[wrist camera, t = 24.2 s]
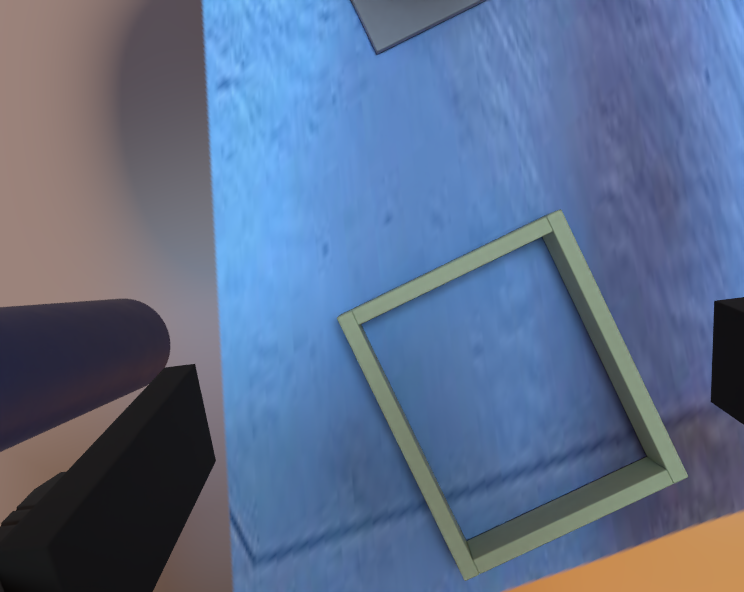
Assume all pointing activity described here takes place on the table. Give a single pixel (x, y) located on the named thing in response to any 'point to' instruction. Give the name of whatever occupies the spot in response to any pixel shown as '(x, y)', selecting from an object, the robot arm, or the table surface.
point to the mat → (404, 18)
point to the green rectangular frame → (661, 454)
